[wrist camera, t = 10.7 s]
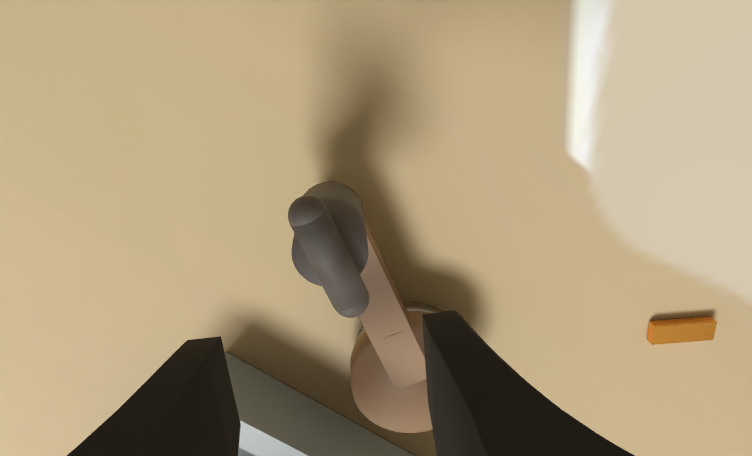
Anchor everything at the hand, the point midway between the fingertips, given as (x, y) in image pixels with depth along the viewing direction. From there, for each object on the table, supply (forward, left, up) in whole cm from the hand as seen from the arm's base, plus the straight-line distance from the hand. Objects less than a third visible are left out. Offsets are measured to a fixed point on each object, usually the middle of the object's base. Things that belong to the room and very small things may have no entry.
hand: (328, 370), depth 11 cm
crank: (+3, -2, -9) cm, 10 cm away
